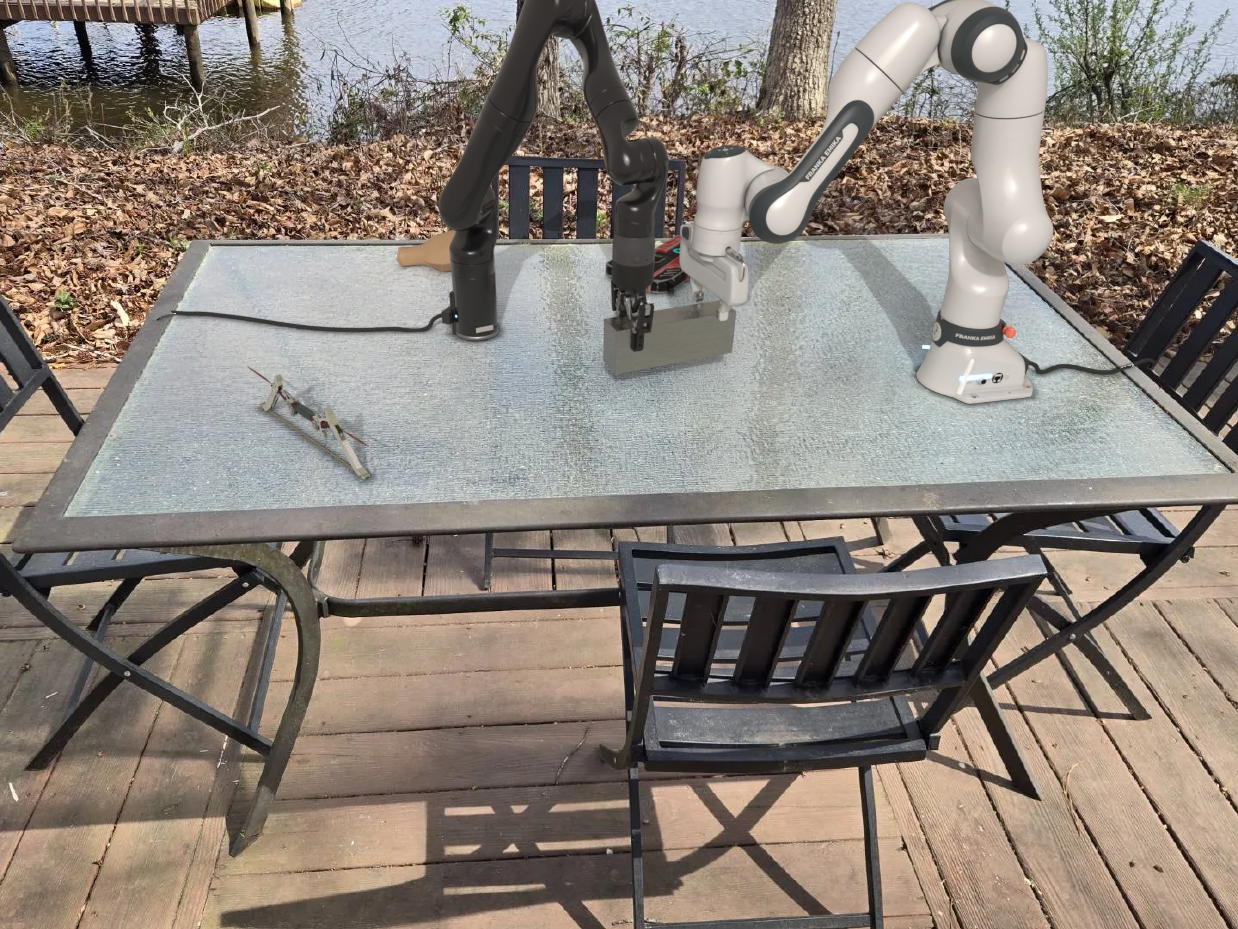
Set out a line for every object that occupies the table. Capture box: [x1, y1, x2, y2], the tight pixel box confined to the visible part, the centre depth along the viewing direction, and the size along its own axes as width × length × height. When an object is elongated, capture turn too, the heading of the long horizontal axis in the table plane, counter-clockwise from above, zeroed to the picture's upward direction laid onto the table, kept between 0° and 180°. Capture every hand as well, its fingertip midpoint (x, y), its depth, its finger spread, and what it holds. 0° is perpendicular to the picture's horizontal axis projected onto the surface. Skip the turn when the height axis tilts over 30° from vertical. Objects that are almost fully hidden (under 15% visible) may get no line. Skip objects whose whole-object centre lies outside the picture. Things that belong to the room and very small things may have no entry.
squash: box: [396, 229, 456, 273], centre depth 222 cm, size 11×20×9 cm, turn 90°
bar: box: [602, 299, 737, 375], centre depth 167 cm, size 25×6×9 cm, turn 114°
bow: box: [247, 365, 371, 480], centre depth 151 cm, size 39×2×10 cm, turn 47°
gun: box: [605, 234, 690, 295], centre depth 225 cm, size 4×31×19 cm
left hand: (630, 342), depth 164 cm, fingers closed on bar, 6 cm apart
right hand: (709, 309), depth 167 cm, fingers open, 8 cm apart
